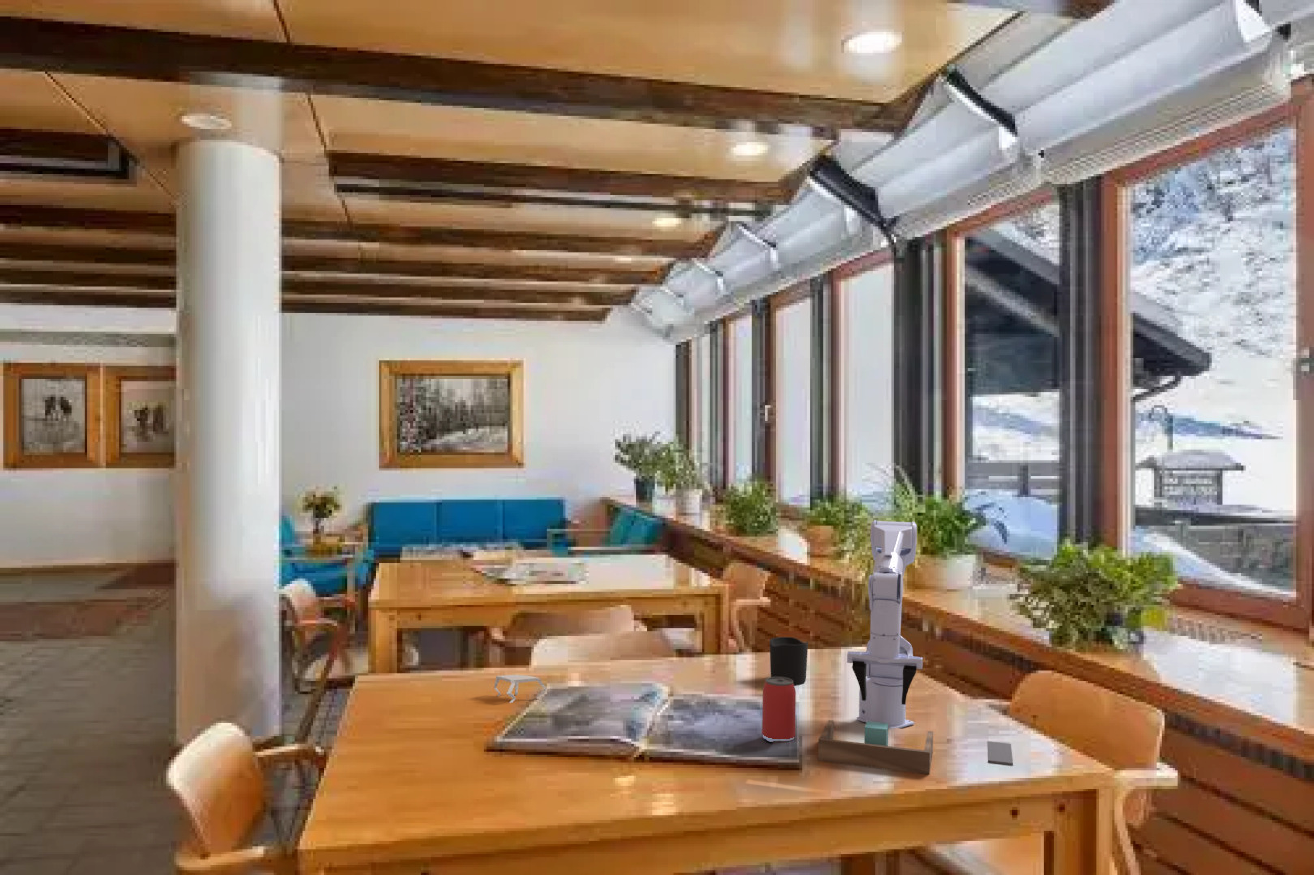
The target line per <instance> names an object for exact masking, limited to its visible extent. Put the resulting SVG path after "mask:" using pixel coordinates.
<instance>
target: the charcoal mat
mask: <svg viewBox="0 0 1314 875" xmlns="http://www.w3.org/2000/svg"><path fill="white" fill-rule="evenodd" d="M986 747H987V748H986V749H987V763H992V764H998V765H999V764H1000V765H1006V764H1007V765H1008V766H1014V761H1013V760H1014V759H1013V753H1012V752H1013V751H1012V743H1008V742H1007V743H1006V742H998V741H992V740H991V741H989V740H988V741H987V746H986Z"/></svg>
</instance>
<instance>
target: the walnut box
mask: <svg viewBox="0 0 1314 875" xmlns="http://www.w3.org/2000/svg"><path fill="white" fill-rule="evenodd" d="M834 725H835V720H830V719H829V720H828V721H827V723H826V725H825V727H824V729H823V730H822V732H821V734H820V736H819V737H818V740H817V742H818V745H817V746H818V749H817V761H818V762H826V763H832V764H833V763H834V764H840V765H841V764H842V765H851V766H856V767H858V766H859V767H863V768H864V767H866V768H872V769H873V768H875V769H881V770H890V771H897V772H905V773H912V774H913V773H914V774H922V775H930V773H931V768H932V767H931V766H932V760H933V754H934V731H931V730H928V731H927V732H926V733H927V734H926V740H925V745H924V749H916V748H909V747H901V746H900V747H898V746H891V745H888V746H883V745H875V744H866V743H864V742H858V741H857V742H856V741H847V740H839V739H834V738H835V736H834V735H835V734H834V732H835V726H834Z"/></svg>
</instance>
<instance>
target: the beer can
mask: <svg viewBox="0 0 1314 875" xmlns="http://www.w3.org/2000/svg"><path fill="white" fill-rule="evenodd" d="M796 700H797V692H796V687H795V685H794V684H793V680H792V679H790V678H785V677H771V676H770V677H767V678H766V679H765V683H764V685H763V688H762V706H761V707H762V709H761V710H762V711H761V714H762V715H761V716H762V718H761V722H762V724H761V725H762V726H761V735H762V734H763V735H764V736H766V737H768V738H772V739H790V738H793V737H794V736H795V737H796V710H797V709H796Z"/></svg>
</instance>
